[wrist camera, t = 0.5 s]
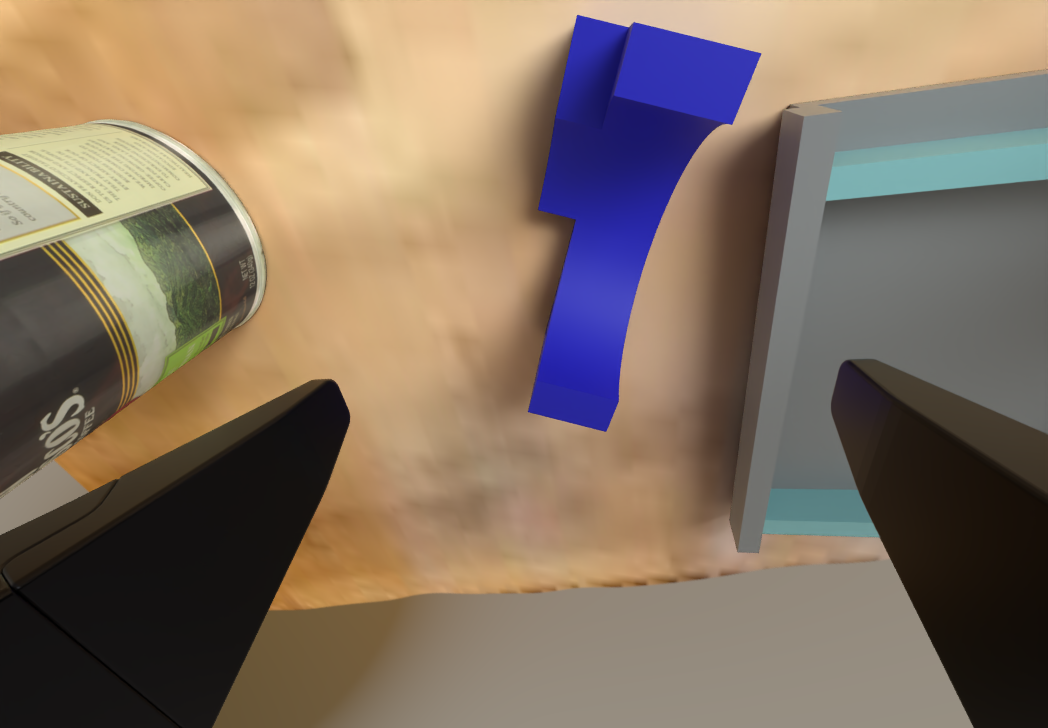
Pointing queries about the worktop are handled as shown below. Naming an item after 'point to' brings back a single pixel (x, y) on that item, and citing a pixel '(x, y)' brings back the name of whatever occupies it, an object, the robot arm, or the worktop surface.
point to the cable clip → (620, 189)
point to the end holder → (893, 280)
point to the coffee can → (108, 278)
